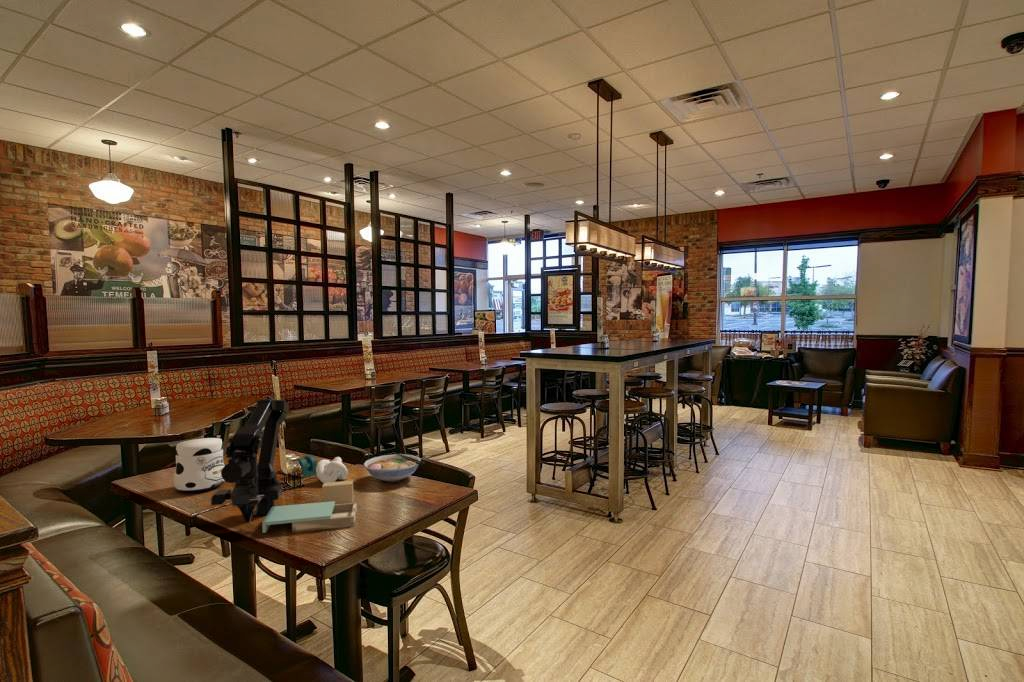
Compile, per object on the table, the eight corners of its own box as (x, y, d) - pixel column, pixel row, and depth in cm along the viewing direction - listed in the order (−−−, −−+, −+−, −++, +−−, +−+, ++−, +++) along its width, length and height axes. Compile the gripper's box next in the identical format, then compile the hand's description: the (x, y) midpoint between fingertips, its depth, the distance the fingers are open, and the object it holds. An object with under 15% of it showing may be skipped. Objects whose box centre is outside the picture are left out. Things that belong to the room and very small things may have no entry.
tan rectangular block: (324, 502, 174) (323, 482, 173) (353, 499, 176) (353, 480, 176) (322, 506, 170) (322, 486, 170) (352, 503, 172) (352, 483, 172)
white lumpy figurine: (316, 478, 201) (316, 456, 201) (347, 475, 205) (346, 453, 205) (316, 486, 190) (315, 464, 190) (348, 483, 195) (348, 460, 194)
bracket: (317, 474, 207) (317, 456, 207) (303, 478, 201) (303, 459, 201) (291, 468, 216) (290, 450, 216) (276, 472, 210) (276, 454, 210)
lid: (272, 516, 159) (272, 506, 158) (335, 510, 163) (334, 501, 163) (262, 532, 146) (262, 522, 146) (330, 525, 151) (330, 515, 150)
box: (300, 516, 161) (299, 507, 160) (356, 510, 165) (356, 502, 165) (292, 532, 148) (292, 522, 148) (354, 526, 152) (354, 516, 152)
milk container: (224, 491, 186) (222, 444, 185) (169, 498, 178) (168, 449, 178) (228, 478, 201) (227, 435, 201) (178, 484, 194) (177, 440, 194)
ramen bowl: (354, 477, 201) (353, 458, 201) (404, 467, 216) (404, 449, 215) (378, 493, 182) (378, 471, 182) (432, 481, 196) (432, 461, 196)
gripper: (203, 483, 140) (204, 536, 141) (273, 478, 145) (274, 529, 145) (216, 472, 151) (218, 521, 152) (281, 467, 156) (282, 515, 156)
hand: (248, 522), depth 151 cm, fingers closed
